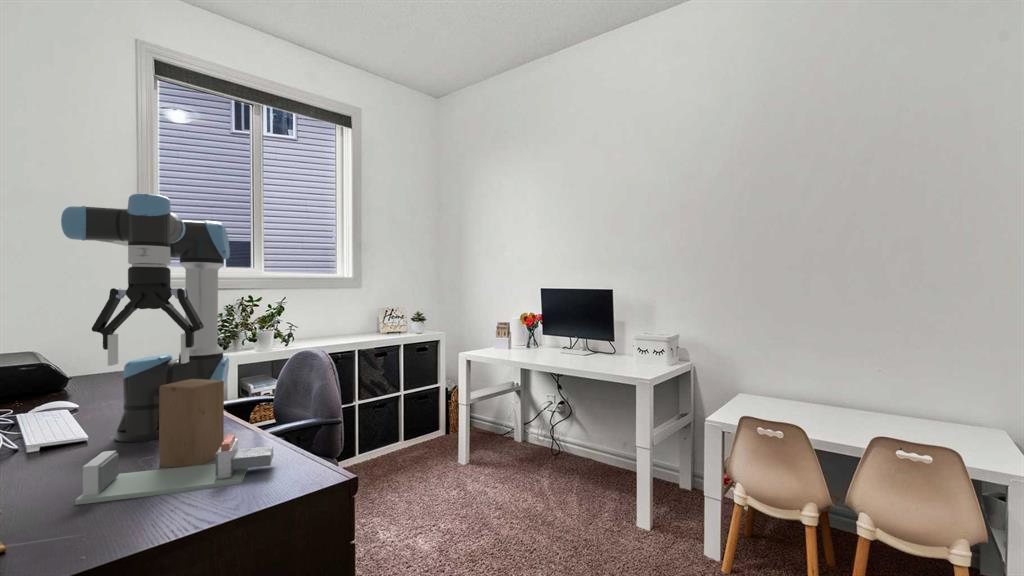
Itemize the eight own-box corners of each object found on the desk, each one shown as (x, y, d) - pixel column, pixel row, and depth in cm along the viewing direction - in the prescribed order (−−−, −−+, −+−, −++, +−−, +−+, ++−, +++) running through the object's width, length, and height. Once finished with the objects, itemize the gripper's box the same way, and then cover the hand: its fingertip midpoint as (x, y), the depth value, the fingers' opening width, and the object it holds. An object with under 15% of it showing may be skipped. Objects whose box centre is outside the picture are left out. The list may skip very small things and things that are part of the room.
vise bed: (103, 479, 115) (103, 449, 115) (250, 464, 125) (250, 436, 125) (75, 504, 102) (75, 470, 102) (241, 484, 112) (241, 453, 112)
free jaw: (223, 464, 121) (223, 433, 121) (273, 458, 125) (273, 429, 125) (214, 479, 112) (215, 446, 112) (269, 472, 116) (269, 440, 116)
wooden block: (192, 470, 121) (193, 387, 121) (158, 467, 123) (158, 385, 123) (224, 456, 131) (224, 379, 131) (191, 453, 133) (192, 378, 133)
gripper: (71, 264, 102) (71, 368, 102) (208, 266, 109) (208, 364, 109) (91, 265, 109) (91, 362, 110) (218, 267, 116) (218, 359, 116)
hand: (149, 363), depth 109 cm, fingers open, 13 cm apart
